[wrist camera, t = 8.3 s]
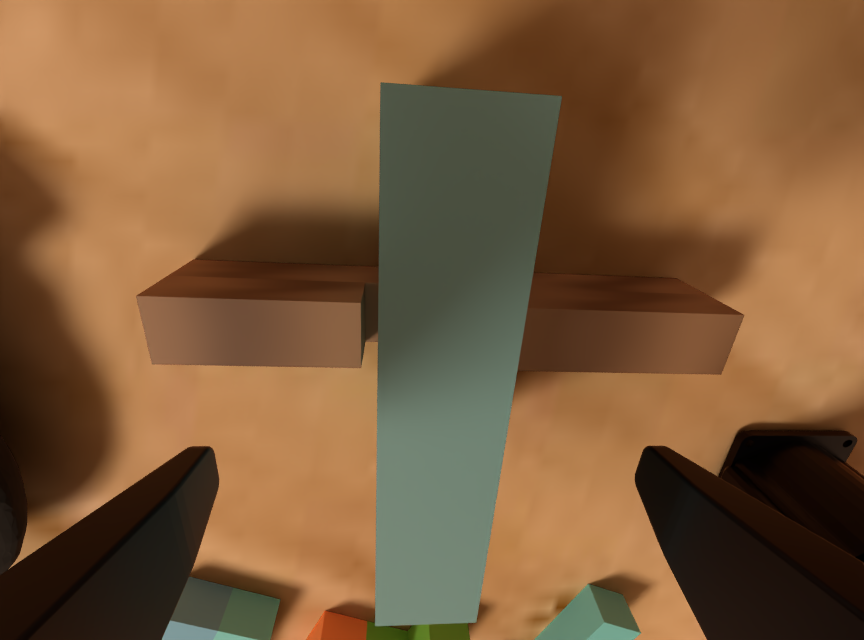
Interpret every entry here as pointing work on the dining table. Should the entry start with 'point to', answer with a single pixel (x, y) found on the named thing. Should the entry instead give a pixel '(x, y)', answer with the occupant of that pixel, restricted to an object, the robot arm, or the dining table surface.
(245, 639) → the tetris game
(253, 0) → the dining table surface
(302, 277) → the walnut rail
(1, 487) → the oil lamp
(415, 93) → the teal plate
